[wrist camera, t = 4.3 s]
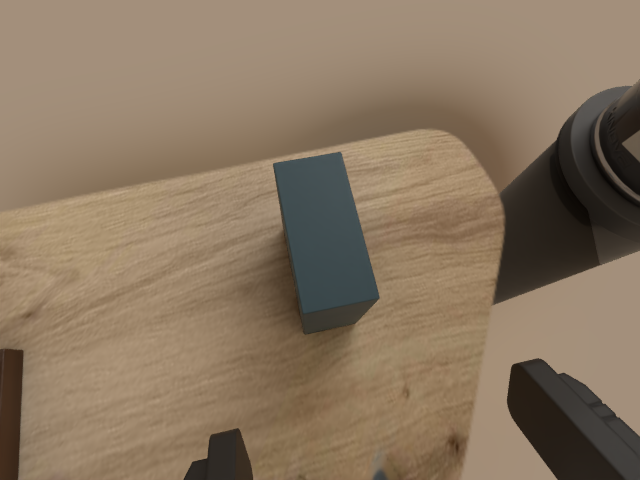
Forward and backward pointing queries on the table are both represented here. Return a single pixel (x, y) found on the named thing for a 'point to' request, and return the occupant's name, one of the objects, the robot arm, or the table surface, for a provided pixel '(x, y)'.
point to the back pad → (324, 242)
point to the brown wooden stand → (10, 411)
